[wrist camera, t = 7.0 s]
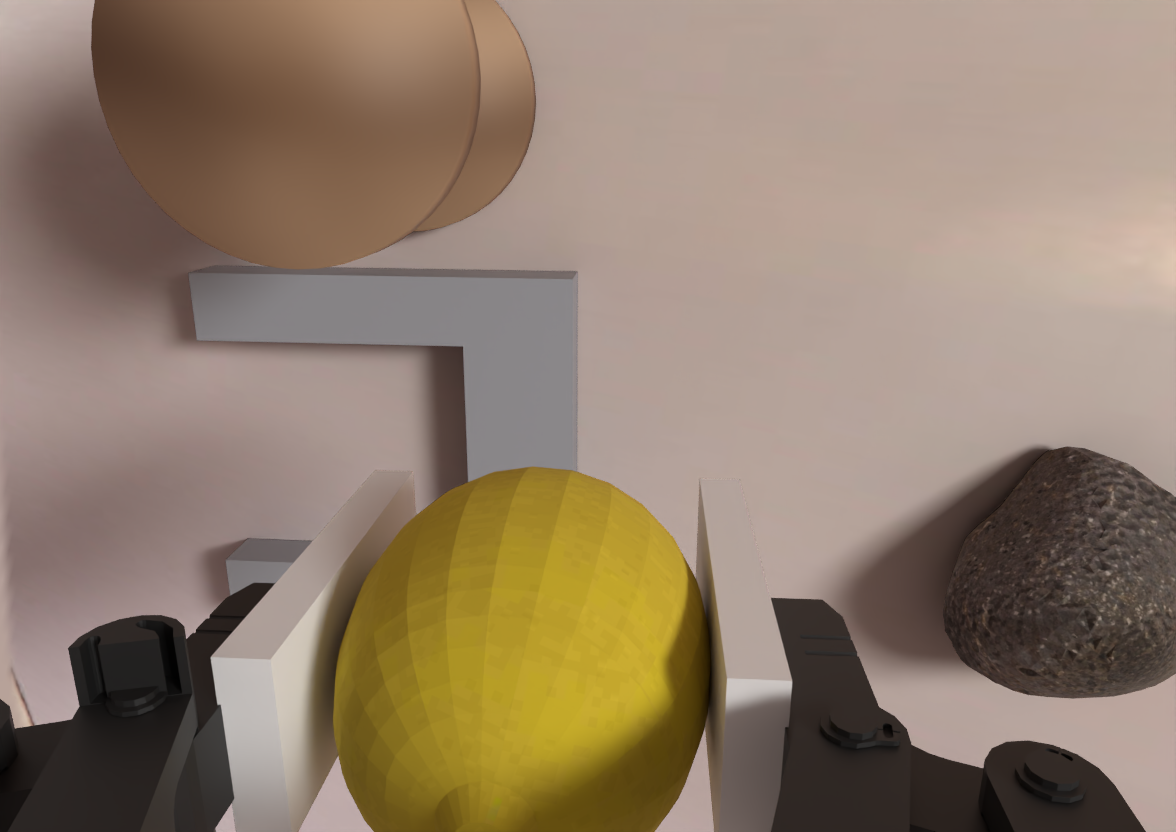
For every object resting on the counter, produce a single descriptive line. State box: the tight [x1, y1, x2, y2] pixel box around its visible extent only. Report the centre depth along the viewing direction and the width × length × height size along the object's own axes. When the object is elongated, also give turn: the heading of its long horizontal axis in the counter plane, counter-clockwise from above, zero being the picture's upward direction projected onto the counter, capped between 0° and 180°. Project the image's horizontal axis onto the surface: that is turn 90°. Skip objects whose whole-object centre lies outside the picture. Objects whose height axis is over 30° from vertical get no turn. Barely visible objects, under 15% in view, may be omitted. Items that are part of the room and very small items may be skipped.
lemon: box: [333, 466, 711, 832], centre depth 13 cm, size 6×6×8 cm
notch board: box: [188, 266, 578, 595], centre depth 34 cm, size 14×14×2 cm
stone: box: [943, 447, 1176, 698], centre depth 33 cm, size 10×8×10 cm
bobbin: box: [91, 0, 536, 270], centre depth 26 cm, size 9×9×11 cm
